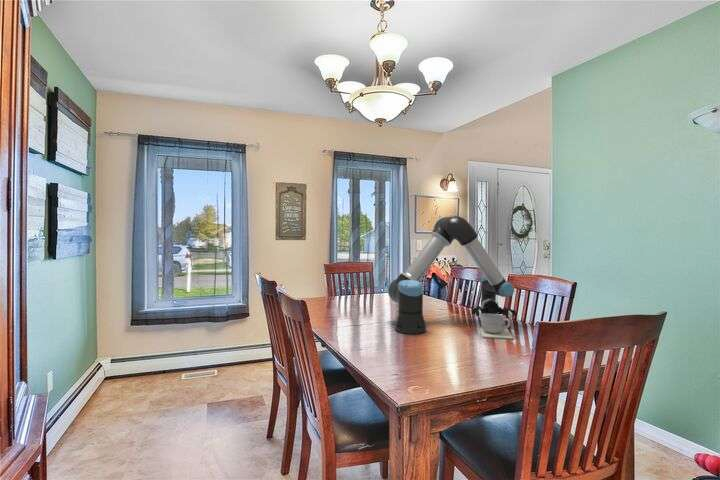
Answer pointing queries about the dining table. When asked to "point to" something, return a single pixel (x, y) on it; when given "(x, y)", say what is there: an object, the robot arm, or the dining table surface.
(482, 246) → the robot arm
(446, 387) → the dining table surface
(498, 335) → the placemat
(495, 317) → the teacup
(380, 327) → the dining table surface
